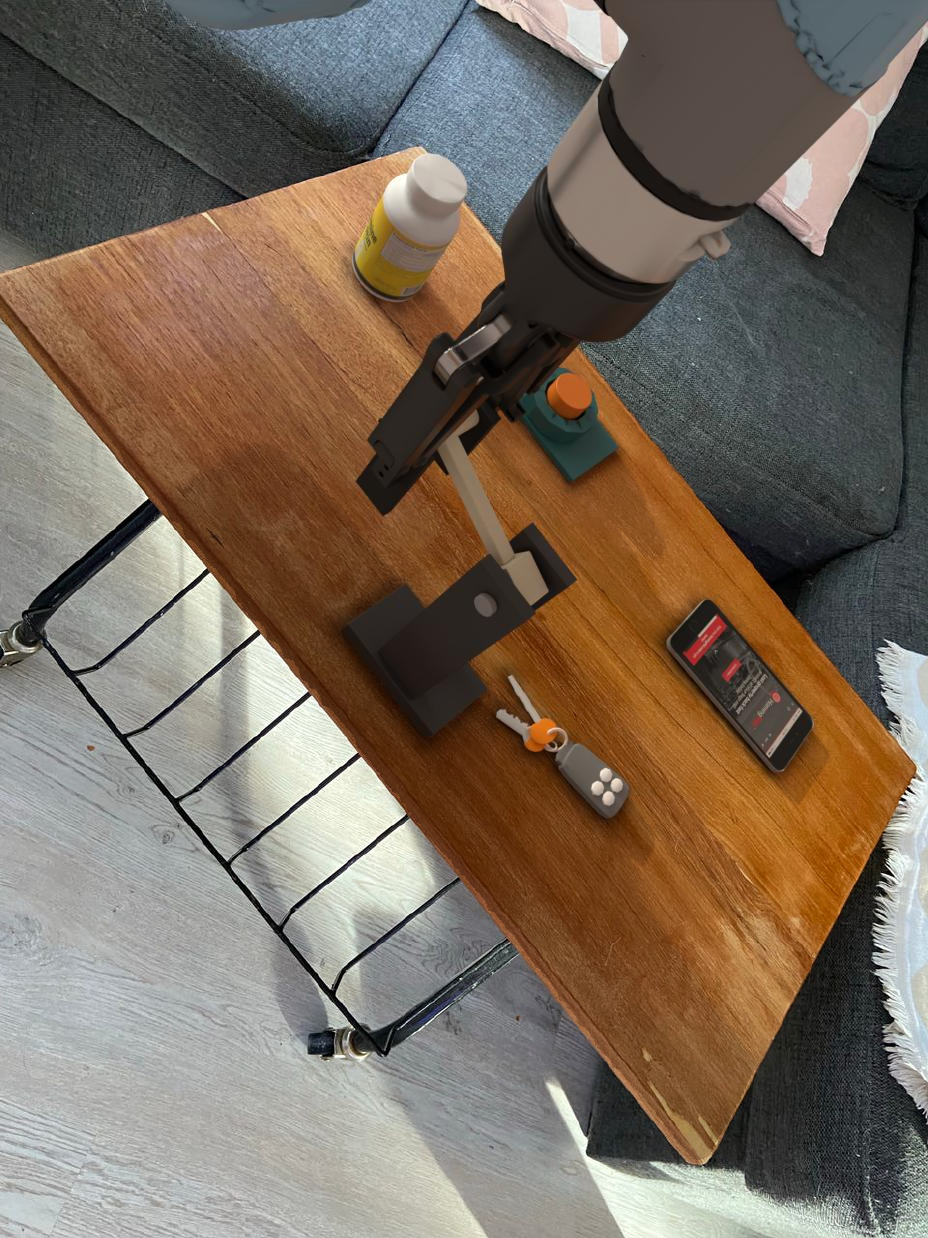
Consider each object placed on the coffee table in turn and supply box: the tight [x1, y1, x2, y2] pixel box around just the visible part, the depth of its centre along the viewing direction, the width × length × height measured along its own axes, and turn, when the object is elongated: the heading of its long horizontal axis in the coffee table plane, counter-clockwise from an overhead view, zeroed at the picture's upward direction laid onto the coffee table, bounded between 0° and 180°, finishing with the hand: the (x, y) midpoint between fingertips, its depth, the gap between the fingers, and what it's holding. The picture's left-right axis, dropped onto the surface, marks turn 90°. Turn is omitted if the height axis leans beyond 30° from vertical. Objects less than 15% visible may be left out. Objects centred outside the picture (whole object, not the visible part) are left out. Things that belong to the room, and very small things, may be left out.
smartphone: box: [666, 598, 815, 774], centre depth 85 cm, size 7×1×15 cm
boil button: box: [547, 373, 592, 419], centre depth 85 cm, size 4×4×2 cm
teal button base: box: [519, 366, 620, 484], centre depth 86 cm, size 12×7×2 cm, turn 43°
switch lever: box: [437, 410, 549, 605], centre depth 58 cm, size 12×5×2 cm, turn 43°
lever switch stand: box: [340, 522, 578, 741], centre depth 65 cm, size 10×6×18 cm, turn 43°
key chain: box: [495, 674, 630, 820], centre depth 75 cm, size 13×4×2 cm, turn 53°
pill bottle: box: [351, 153, 468, 303], centre depth 80 cm, size 6×6×12 cm
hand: (406, 475), depth 61 cm, fingers closed on switch lever, 5 cm apart
